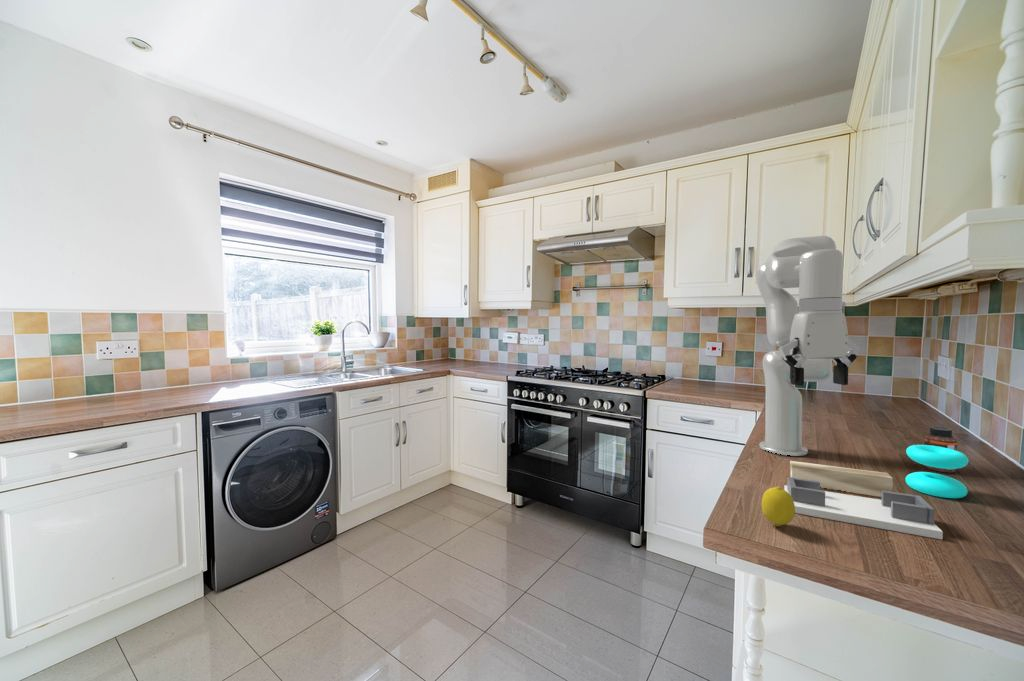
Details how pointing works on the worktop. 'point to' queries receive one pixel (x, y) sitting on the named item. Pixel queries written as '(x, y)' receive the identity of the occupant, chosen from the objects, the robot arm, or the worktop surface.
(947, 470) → the supplement bottle
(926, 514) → the end caps
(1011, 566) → the worktop surface
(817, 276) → the robot arm
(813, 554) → the worktop surface
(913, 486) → the donuts
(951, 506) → the worktop surface
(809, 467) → the slat
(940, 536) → the board
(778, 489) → the lemon
